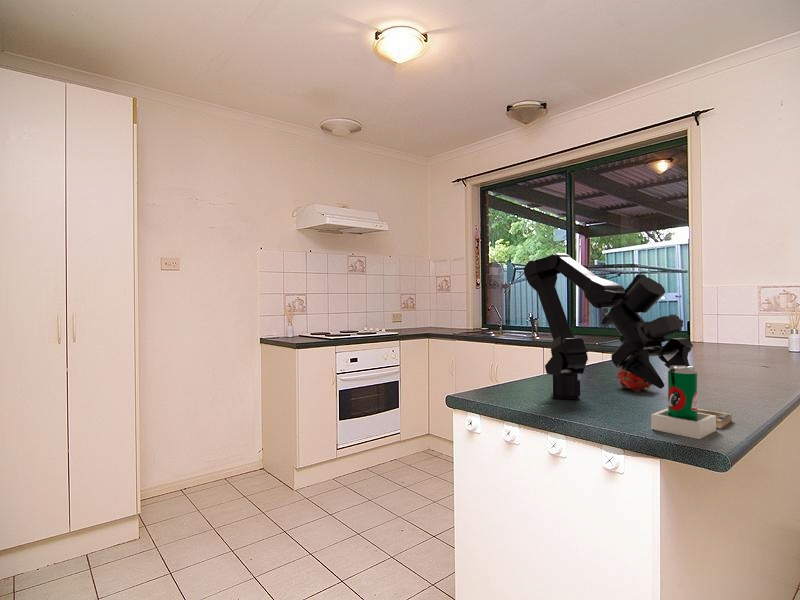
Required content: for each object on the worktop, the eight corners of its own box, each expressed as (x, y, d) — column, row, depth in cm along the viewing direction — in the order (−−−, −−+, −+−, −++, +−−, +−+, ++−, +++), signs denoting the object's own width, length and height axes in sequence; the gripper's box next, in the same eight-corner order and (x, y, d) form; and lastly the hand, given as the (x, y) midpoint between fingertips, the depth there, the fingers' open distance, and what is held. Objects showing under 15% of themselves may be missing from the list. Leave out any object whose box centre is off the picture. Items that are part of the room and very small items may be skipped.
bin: (651, 429, 93) (651, 414, 93) (669, 421, 98) (669, 407, 98) (699, 439, 86) (699, 423, 86) (716, 430, 92) (716, 415, 92)
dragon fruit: (624, 390, 138) (650, 405, 127) (603, 374, 137) (628, 388, 125) (641, 367, 138) (669, 380, 126) (621, 351, 136) (647, 363, 124)
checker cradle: (675, 420, 99) (675, 412, 99) (688, 413, 104) (688, 405, 104) (720, 428, 93) (720, 419, 93) (731, 421, 98) (731, 412, 98)
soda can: (699, 431, 89) (698, 369, 89) (668, 428, 91) (668, 367, 91) (696, 424, 93) (695, 365, 93) (667, 422, 96) (666, 364, 96)
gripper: (623, 302, 94) (673, 364, 84) (684, 301, 101) (737, 358, 92) (592, 337, 101) (635, 398, 92) (652, 334, 109) (698, 389, 99)
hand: (678, 385), depth 93 cm, fingers open, 9 cm apart
